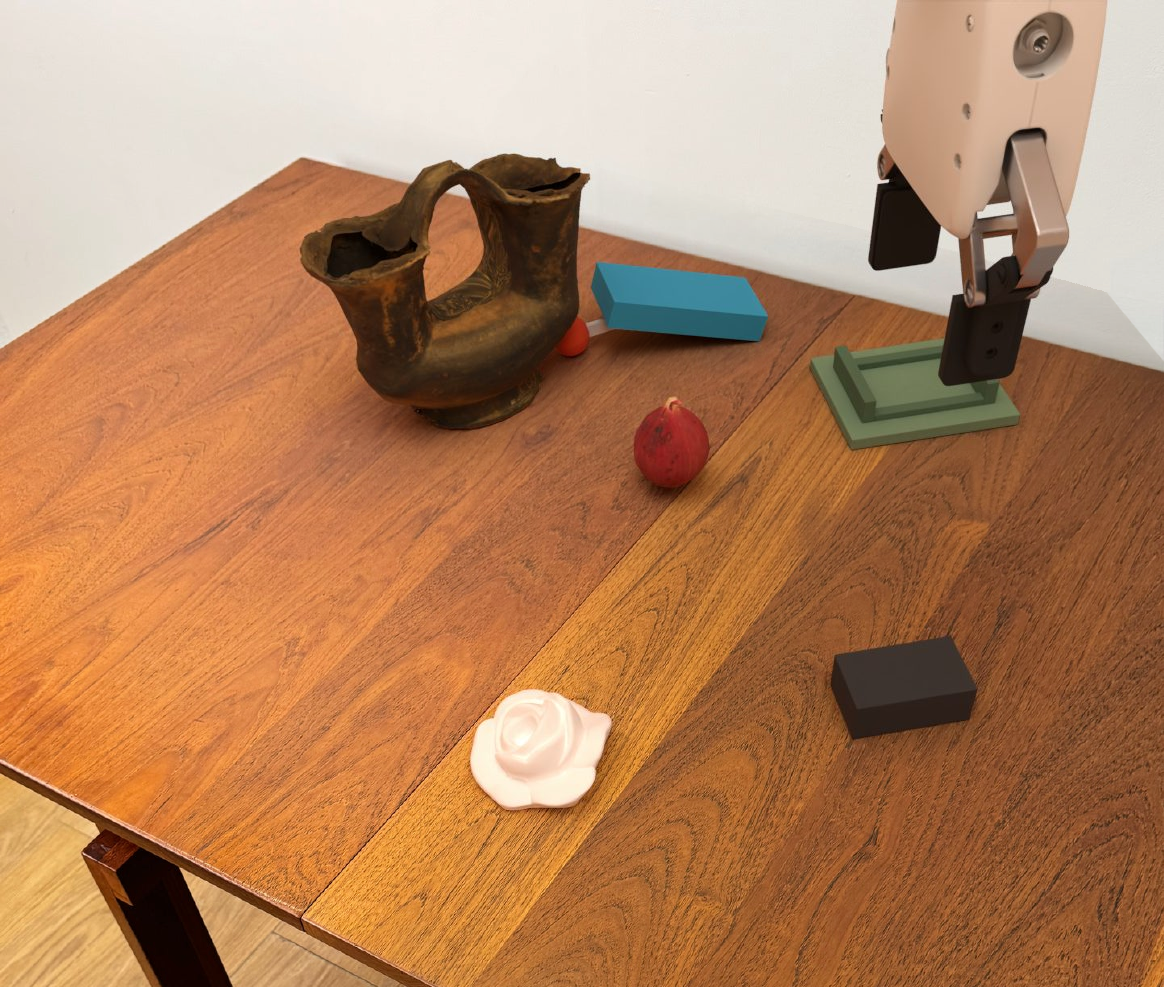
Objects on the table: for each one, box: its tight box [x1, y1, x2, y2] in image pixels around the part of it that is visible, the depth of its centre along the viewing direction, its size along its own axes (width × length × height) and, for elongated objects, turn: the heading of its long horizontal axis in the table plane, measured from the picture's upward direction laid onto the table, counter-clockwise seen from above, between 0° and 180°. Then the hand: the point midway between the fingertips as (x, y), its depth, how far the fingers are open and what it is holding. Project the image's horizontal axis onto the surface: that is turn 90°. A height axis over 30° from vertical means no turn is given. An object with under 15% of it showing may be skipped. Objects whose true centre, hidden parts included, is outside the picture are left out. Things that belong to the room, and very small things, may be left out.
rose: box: [469, 688, 613, 811], centre depth 81 cm, size 10×4×10 cm
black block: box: [829, 635, 978, 740], centre depth 83 cm, size 8×5×3 cm, turn 99°
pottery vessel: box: [299, 153, 591, 430], centre depth 101 cm, size 25×11×20 cm, turn 129°
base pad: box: [809, 337, 1021, 451], centre depth 104 cm, size 14×12×3 cm
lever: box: [555, 261, 769, 357], centre depth 112 cm, size 7×7×18 cm
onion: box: [633, 395, 711, 489], centre depth 96 cm, size 6×6×8 cm
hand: (935, 318), depth 57 cm, fingers open, 9 cm apart
